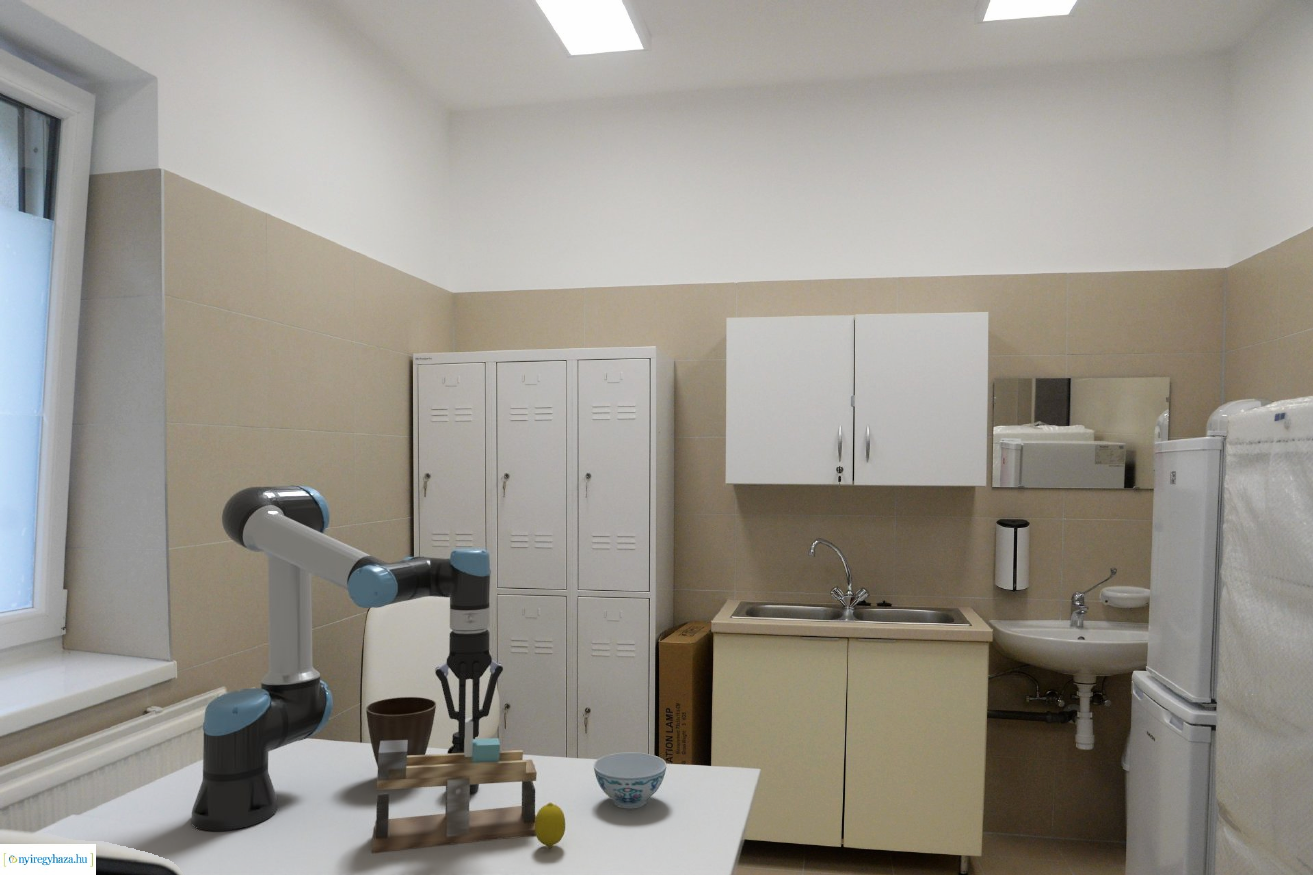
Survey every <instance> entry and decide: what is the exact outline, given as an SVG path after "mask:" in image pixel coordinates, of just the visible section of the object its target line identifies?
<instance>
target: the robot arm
mask: <svg viewBox="0 0 1313 875" xmlns="http://www.w3.org/2000/svg"><path fill="white" fill-rule="evenodd" d="M330 513H331V512H330V509H329V505H328V503H327V501H326V499H325V497H324V496H323V495H322V494H321V493H320V492H319V491H318V490H316V489H314V488H313V487H310V486H303V485H280V486H275V485H274V486H251V487H247V488H243V489H241V490H239V491H238V492H236V493H234V494H233V495H232V496H230V497H229V499H228V500H227V502H226V503H225V504H224V507H223V510H222V514H221V522H222V523H221V524H222V527H223V530H224V532H225V534H226V535H227V537H228V538H230V540H232V541H234V543H236V544H238V545H240V546H241V547H243V548H246V549H247V550H249V551H252V552H255V553H259V552H261V553H262V554H263V555H264V556H265V557H266V558H267V595H268V596H267V600H268V601H267V605H268V607H267V610H268V612H267V614H268V620H267V621H268V672H267V673H266V674H265V675H264V676H263V678H261V680H260V682H261V684H260V688H257V687H256V688H255V687H253V688H252V687H250V688H243V689H241V690H233V691H230V692H226V693H224V694H221V695H220V696H217V697H216V698H214V699H212V700H211V701H210V702H209V703H208V704H207V706H206V708H205V710H204V717H203V718H204V719H203V720H204V721H203V724H202V731H203V746H202V747H203V750H202V751H203V754H202V760H203V761H202V781H201V784H200V787H199V789H198V793H197V796H196V799H195V801H194V804H193V806H192V810H191V825H192V824H193V825H194V826H195V828H196V827H197V828H196V829H198V828H199V830H202V829H203V831H210V832H213V831H214V832H221V831H223V832H224V831H233V830H238V828H239V829H242V828H243V827H244V828H247V827H251V826H255V825H257V824H259V822H260V823H262V822H264V821H266V820H268V819H270V818H272V816H274V815H275V814H276V813H277V810H278V797H277V794H276V791H275V787H274V785H273V782H272V778H271V776H270V774H269V752H271V751H274V750H276V749H279V748H282V747H284V746H287V745H290V744H293V743H296V742H301V741H303V740H306V739H308V738H309V737H311V736H313V735H315V734H317V733H319V732H320V731H322V729H323V728H324V727H325V726H326V725H327V724H328V722H329V720H330V718H331V715H332V712H333V707H334V706H333V704H334V703H333V702H334V701H333V695H332V692H331V690H329V689H328V687H329V686H328V684H327V683H326V682H324V681H323V680H321V673H320V672H319V670H317V669H315V668H314V665H313V663H314V662H313V612H312V610H313V606H312V605H313V604H312V603H313V602H312V575H315V576H317V577H318V578H321V579H323V580H325V581H327V582H329V583H331V584H333V585H335V586H337V587H339V588H342V589H343V590H346V591H347V592H348V596H349V597H350V599H351V600H352V601H353V604H354V605H356V606H357V607H360V608H363V609H371V608H373V609H375V608H376V609H377V608H383V607H386V606H388V605H393V604H398V603H401V602H407V601H411V600H417V599H421V598H425V597H435V598H436V597H438V598H439V597H440V598H449V628H450V630H451V631H450V632H449V640H448V641H449V642H448V643H449V645H448V646H449V651H448V652H449V654H448V656H447V658H446V662H445V663H443V664H442V665H440V666H437V667H435V669H434V670H435V671H434V672H435V676H436V677H437V678H438V679H439V681H440V684H441V687H442V692H443V696H444V700H445V706H446V708H447V712H448V713H447V714H448V717H449V719H451V720H456V721H457V722H458V726H457V727H458V731H457V732H458V735H459V738H464V755H465V757H471V756H473V737H475V738H478V737H479V735H480V720H481V719H482V718H485V717H486V718H487V717H488V716H489V714H490V710H491V706H492V702H493V698H494V694H495V691H496V686H497V682H498V679H499V677H500V675H501V674H502V672H504V668H503V665H502V663H497V661H494V660H493V658H492V655H491V653H490V631H489V630H488V629H489V628H490V623H491V622H490V618H491V617H490V616H491V615H490V613H491V612H490V611H491V610H490V608H491V607H490V604H491V603H490V589H491V588H490V587H491V573H492V572H491V563H490V561H491V560H490V553H489V551H488V550H487V549H484V548H478V547H477V548H470V547H469V548H456V549H453V550H452V551H451V552H450V556H449V558H443V557H427V556H422V555H419V556H408V557H405V558H403V559H402V560H401V561H394V562H393V561H392V562H387V561H384V560H381V559H380V558H377V557H375V556H372V555H370V554H369V553H366V552H365V551H362V550H360V549H357V548H355V547H353V546H351V545H349V544H346V543H344V542H342V541H340V540H338V539H336V538H333V537H331V536H330V535H326V534H325V532H327V531H326V530H327V528H329V525H330V519H331V518H330V516H331V515H330ZM449 669H450V671H451V672H452V673H453V675H454V676H455V677H456V679H458V711H457V710H456V709H455V705H454V701H453V697H452V692H451V688H450V684H449V680H448V676H449ZM488 669H489V673H490V676H489V679H488V683H487V688H486V691H485V695H484V700H483V704H482V706H481V709H480V686H481V685H480V683H481V680H480V679H481V678H482V677H483V675H484V674H485V672H486V671H487V670H488ZM467 680H471V681H472V686H471V687H472V692H471V693H472V700H471V703H472V704H471V707H472V708H471V714H472V715H471V717H466V710H467V709H466V704H467V703H466V702H467V701H466V698H467V697H466V695H467V694H466V693H467V692H466V691H467ZM273 814H274V815H273ZM256 823H257V824H256ZM193 825H192V826H193ZM194 826H193V827H194ZM232 829H233V830H232Z"/></svg>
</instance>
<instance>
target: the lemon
mask: <svg viewBox="0 0 1313 875" xmlns="http://www.w3.org/2000/svg"><path fill="white" fill-rule="evenodd" d="M565 831H566V818H565V814H564V811H563V810H562V809H561V807H559V806H558V805H557V804H553V802H548V803H547V804H545V805H543V806H541V808H540V809H539V810H538V811H537V814H536V819H535V833H536V835H535V836H536V840H538V842H540V843H541V844H542V845H545V846H546V847H547V848H549V849H550V848H553V846H554V845H556V844H558V843H559V842H560V841H561V840H563V839H562V838H563V837H564V835H565Z"/></svg>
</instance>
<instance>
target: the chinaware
mask: <svg viewBox="0 0 1313 875" xmlns="http://www.w3.org/2000/svg"><path fill="white" fill-rule="evenodd" d="M666 769H667V762H666V761H665V760H664V759H663V758H661V757H659V756H656V755H655V754H649V753H643V752H635V751H634V752H633V751H632V752H630V751H629V752H628V751H627V752H617V753H611V754H607V755H604V756H602V757H600V758H598V759H597V760H595V761H594V764H593V771H594V775H595V778H596V780H597V783H598V786H599V787H600V788H601V791H603V793H604V794H606V795H607V796H608V798H610V799H611V800H613V804H614V805H615V806H616V805H617V807H618V806H619V808H621V807H624V808H623V809H637V808H636V807H638V808H640V807H643V806H644V805H646V803H647V801H648V799H650V798H651V797H652V796H653V795H654V794H655V793H656V792H657V791H658V790H659V788H660V787H661V785H662V782H663V781H664V777H665V774H666Z"/></svg>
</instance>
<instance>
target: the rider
mask: <svg viewBox="0 0 1313 875" xmlns="http://www.w3.org/2000/svg"><path fill="white" fill-rule="evenodd" d="M500 747H501V744H500V739H499V737H496V738H491V737H490V738H475V739H473V756H471V763H478V762H498V761H499V755H500V751H501V749H500Z"/></svg>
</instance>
